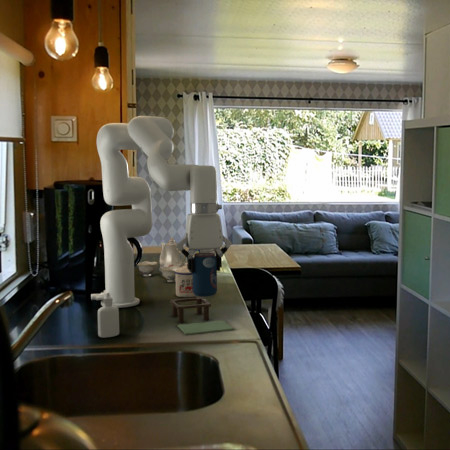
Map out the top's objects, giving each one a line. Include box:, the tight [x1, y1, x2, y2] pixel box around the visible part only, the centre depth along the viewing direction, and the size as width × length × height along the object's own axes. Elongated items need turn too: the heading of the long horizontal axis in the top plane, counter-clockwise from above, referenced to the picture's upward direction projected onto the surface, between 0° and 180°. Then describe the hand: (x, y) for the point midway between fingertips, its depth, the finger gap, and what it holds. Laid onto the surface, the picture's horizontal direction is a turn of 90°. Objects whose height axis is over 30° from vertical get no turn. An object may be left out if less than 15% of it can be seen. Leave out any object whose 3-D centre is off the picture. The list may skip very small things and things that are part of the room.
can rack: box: [169, 297, 212, 324], centre depth 198 cm, size 10×10×5 cm
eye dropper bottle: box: [97, 293, 120, 339], centre depth 178 cm, size 4×6×12 cm
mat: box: [176, 319, 235, 336], centre depth 187 cm, size 14×10×1 cm
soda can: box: [193, 253, 218, 298], centre depth 185 cm, size 7×7×12 cm
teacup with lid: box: [175, 262, 197, 299], centre depth 230 cm, size 12×9×12 cm
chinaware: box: [136, 236, 187, 283], centre depth 264 cm, size 28×17×17 cm, turn 49°
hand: (204, 270), depth 185 cm, fingers closed on soda can, 7 cm apart
